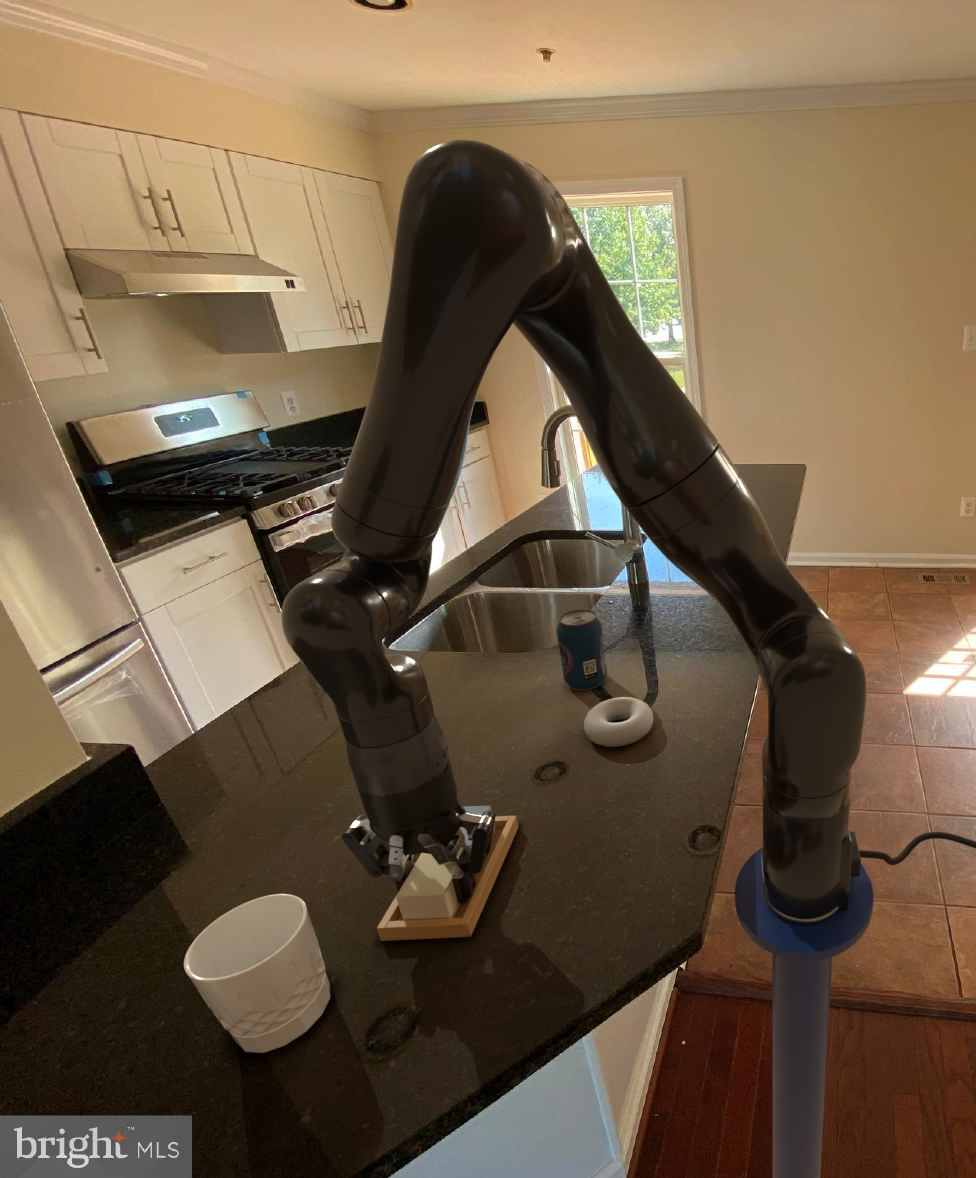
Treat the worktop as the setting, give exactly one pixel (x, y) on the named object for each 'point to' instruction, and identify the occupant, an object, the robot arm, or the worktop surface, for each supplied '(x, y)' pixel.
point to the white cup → (261, 971)
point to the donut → (621, 732)
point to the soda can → (581, 649)
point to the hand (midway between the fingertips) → (441, 896)
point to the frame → (467, 912)
